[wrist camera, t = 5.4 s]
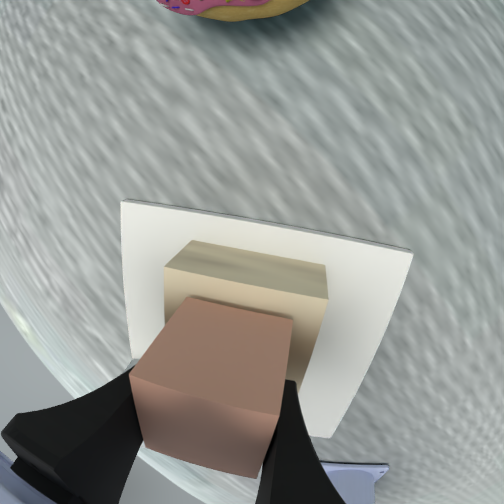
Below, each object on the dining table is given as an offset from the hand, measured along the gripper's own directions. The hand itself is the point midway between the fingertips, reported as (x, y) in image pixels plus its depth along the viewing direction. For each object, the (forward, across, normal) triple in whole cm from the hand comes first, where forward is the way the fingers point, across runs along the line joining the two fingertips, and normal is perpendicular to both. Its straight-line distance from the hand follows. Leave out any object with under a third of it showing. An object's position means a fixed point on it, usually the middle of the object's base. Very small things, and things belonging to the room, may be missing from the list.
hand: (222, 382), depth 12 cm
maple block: (+6, 0, 0) cm, 6 cm away
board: (+6, 0, +3) cm, 7 cm away
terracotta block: (+2, 0, 0) cm, 2 cm away
